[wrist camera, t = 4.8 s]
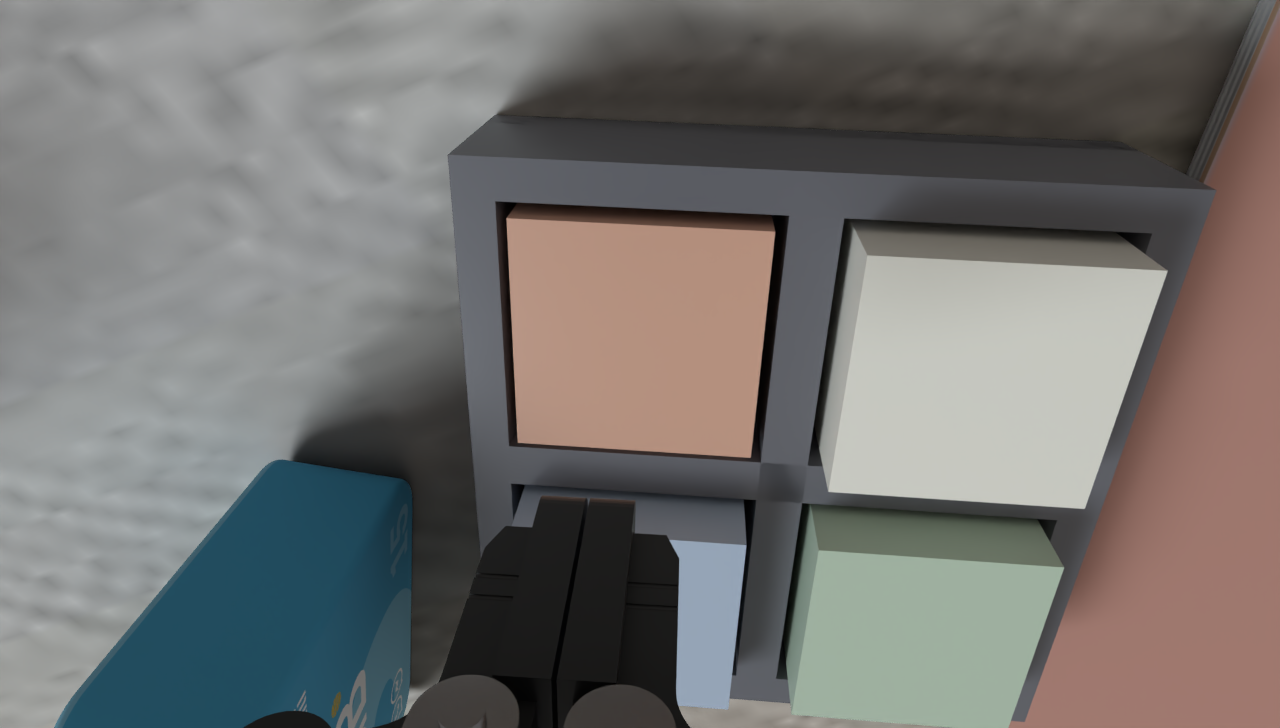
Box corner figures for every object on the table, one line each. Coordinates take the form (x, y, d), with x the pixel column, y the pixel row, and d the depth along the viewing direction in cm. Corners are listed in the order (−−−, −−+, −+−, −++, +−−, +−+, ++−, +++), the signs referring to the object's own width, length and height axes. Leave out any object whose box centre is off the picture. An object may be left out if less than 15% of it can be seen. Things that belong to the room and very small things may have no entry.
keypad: (519, 579, 30) (490, 679, 26) (494, 115, 22) (447, 155, 18) (981, 613, 29) (1024, 722, 25) (1121, 141, 21) (1216, 190, 17)
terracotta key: (542, 378, 24) (517, 442, 21) (535, 177, 22) (506, 218, 18) (745, 390, 24) (750, 457, 21) (765, 188, 21) (775, 231, 18)
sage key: (781, 623, 26) (791, 714, 23) (804, 469, 24) (818, 550, 21) (971, 637, 26) (1006, 732, 23) (1016, 483, 23) (1064, 567, 20)
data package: (411, 701, 33) (273, 1060, 23) (301, 684, 33) (111, 1034, 23) (415, 460, 28) (232, 786, 17) (282, 439, 28) (18, 752, 17)
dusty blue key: (542, 605, 27) (520, 692, 24) (536, 452, 24) (510, 528, 21) (726, 618, 27) (727, 709, 23) (741, 465, 24) (746, 544, 21)
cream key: (812, 416, 23) (828, 491, 20) (843, 205, 20) (867, 255, 17) (1032, 429, 22) (1084, 509, 19) (1095, 218, 20) (1167, 270, 17)
